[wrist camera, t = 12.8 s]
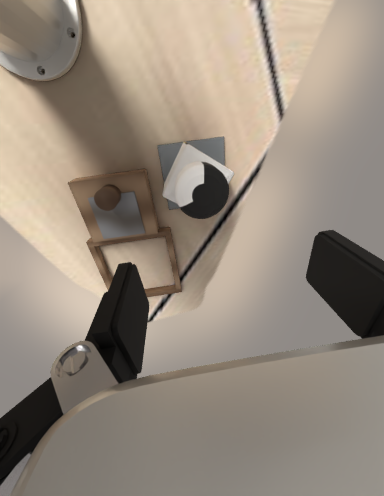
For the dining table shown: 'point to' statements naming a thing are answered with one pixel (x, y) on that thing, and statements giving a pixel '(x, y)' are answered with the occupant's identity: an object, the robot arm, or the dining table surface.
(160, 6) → the dining table surface
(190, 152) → the medicine bottle
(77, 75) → the dining table surface
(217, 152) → the slate mat
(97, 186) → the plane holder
